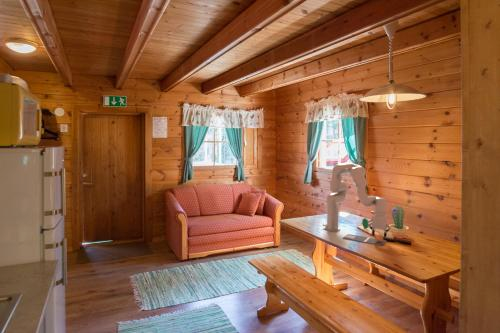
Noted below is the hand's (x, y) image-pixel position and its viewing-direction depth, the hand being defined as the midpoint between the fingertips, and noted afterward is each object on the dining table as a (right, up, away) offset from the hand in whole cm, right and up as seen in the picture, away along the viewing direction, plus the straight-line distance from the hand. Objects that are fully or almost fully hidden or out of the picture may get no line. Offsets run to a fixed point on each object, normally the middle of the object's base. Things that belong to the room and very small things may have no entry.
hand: (379, 236), depth 256 cm
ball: (0, -1, 0) cm, 1 cm away
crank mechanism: (+2, -2, +30) cm, 30 cm away
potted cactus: (+22, -4, +16) cm, 27 cm away
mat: (-9, -4, +7) cm, 12 cm away
